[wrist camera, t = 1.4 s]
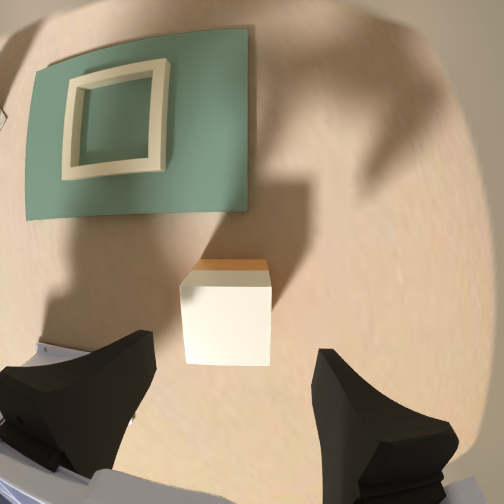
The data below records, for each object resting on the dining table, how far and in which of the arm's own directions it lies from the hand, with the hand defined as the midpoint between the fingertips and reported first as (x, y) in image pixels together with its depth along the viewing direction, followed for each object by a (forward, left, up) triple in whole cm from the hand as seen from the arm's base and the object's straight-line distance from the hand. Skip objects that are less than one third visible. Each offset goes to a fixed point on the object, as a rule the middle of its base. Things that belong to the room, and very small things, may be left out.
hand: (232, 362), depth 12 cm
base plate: (-8, +12, -9) cm, 17 cm away
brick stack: (0, 0, -9) cm, 9 cm away
